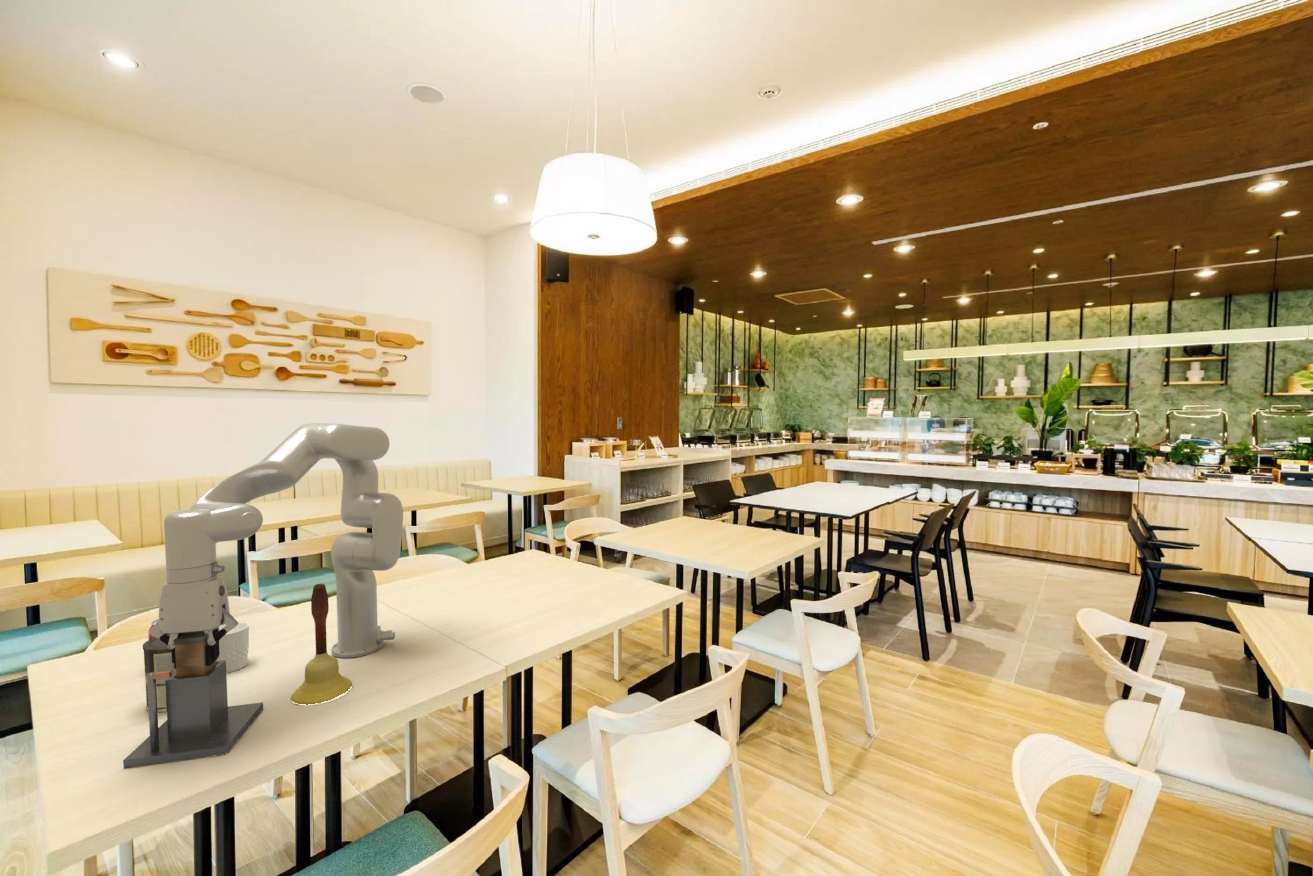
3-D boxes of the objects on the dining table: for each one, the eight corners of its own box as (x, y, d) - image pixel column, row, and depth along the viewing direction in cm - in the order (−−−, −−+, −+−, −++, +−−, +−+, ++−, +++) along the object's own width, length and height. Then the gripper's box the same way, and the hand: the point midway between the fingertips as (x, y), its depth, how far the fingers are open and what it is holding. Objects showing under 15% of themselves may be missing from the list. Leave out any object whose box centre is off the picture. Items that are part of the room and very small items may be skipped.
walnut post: (219, 719, 112) (215, 627, 111) (207, 732, 108) (202, 637, 107) (191, 722, 111) (187, 630, 110) (177, 736, 106) (173, 640, 105)
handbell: (297, 684, 130) (294, 580, 129) (356, 674, 135) (353, 574, 133) (284, 710, 119) (280, 596, 117) (349, 699, 123) (346, 590, 122)
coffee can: (132, 712, 118) (128, 648, 117) (175, 688, 128) (172, 628, 127) (179, 713, 117) (176, 649, 117) (218, 688, 128) (216, 629, 127)
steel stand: (263, 709, 119) (260, 636, 118) (226, 754, 104) (223, 671, 103) (175, 719, 115) (171, 645, 114) (123, 768, 100) (119, 682, 99)
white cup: (257, 663, 140) (255, 625, 140) (222, 677, 133) (220, 637, 132) (239, 657, 143) (237, 620, 143) (203, 670, 136) (202, 631, 136)
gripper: (250, 564, 113) (254, 651, 114) (152, 570, 109) (156, 660, 110) (233, 575, 106) (237, 667, 107) (126, 582, 102) (131, 678, 103)
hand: (196, 663), depth 109 cm, fingers closed on walnut post, 4 cm apart
